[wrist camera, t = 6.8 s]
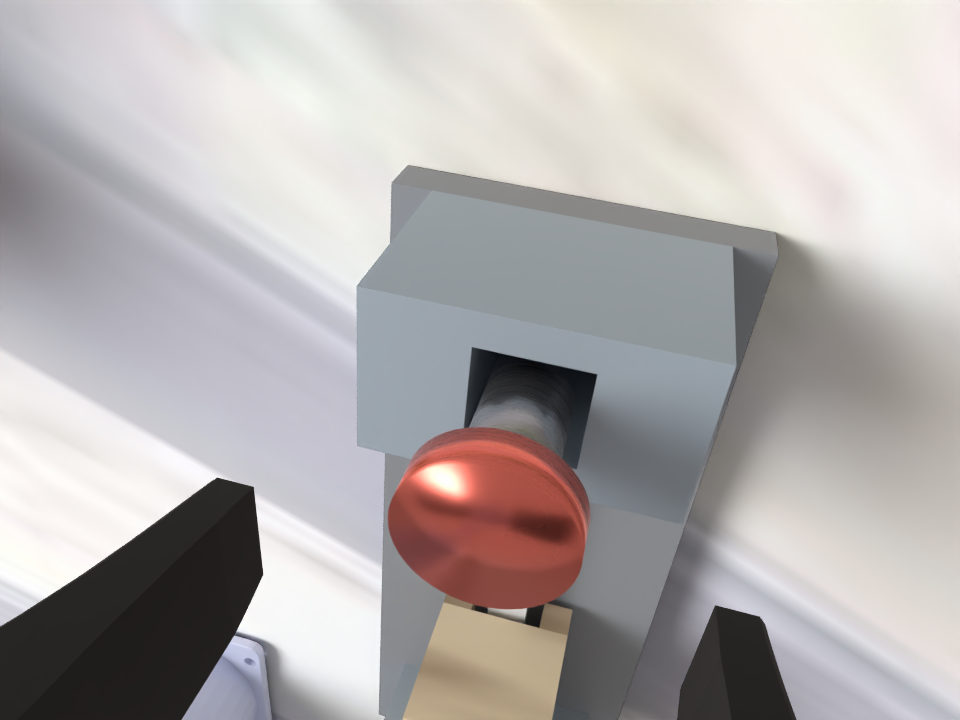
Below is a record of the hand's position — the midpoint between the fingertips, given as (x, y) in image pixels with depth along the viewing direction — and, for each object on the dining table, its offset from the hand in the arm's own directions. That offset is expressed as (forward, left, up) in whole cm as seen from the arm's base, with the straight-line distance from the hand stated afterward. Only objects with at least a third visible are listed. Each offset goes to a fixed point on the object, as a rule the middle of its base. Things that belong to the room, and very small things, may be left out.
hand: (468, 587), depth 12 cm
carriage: (-14, 0, -9) cm, 16 cm away
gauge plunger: (0, 0, -5) cm, 5 cm away
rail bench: (-10, 0, -10) cm, 14 cm away
